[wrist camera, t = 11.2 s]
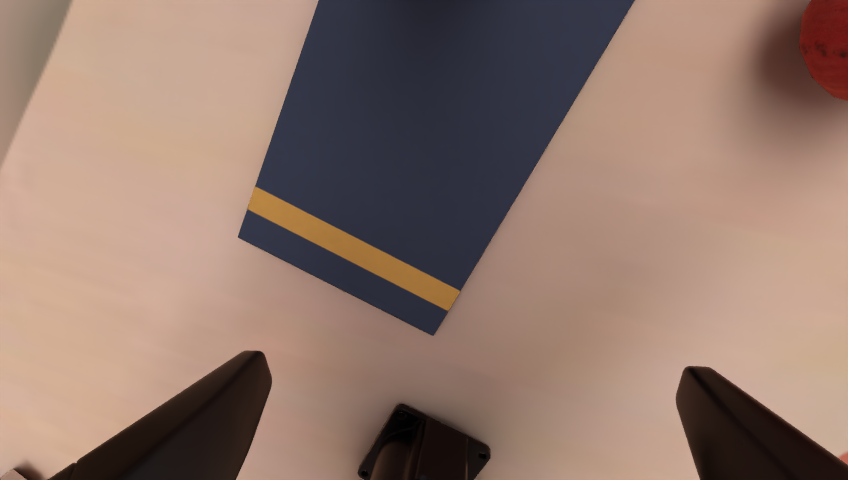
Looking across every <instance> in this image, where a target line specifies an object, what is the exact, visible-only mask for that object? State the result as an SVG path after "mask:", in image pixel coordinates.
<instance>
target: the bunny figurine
mask: <svg viewBox="0 0 848 480" xmlns="http://www.w3.org/2000/svg"><path fill="white" fill-rule="evenodd" d="M0 480H26V479H25V478H24V477H23V476H21V475H20V474H19V473H17V472H16V471H15V470H14V469H13V470H10V471H9V472H7V473H6V474H5V475H4V476H2V477H1V478H0Z"/></svg>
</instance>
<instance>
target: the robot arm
mask: <svg viewBox="0 0 848 480" xmlns="http://www.w3.org/2000/svg"><path fill="white" fill-rule="evenodd" d="M271 385H272V376H271V373H270V370H269V367H268V364H267V361H266V358H265V355H264V353H263V352H261V351H243V352H241V353H240V354H238V355H237V356H235V357H234V358H232V359H231V360H229V361H228V362H226V363H225V364H223V365H222V366H220V367H219V368H217V369H215V370H214V371H212V372H211V373H209V374H208V375H206V376H205V377H203V378H202V379H200V380H199V381H197V382H196V383H194V384H193V385H191V386H190V387H188V388H187V389H185V390H184V391H182V392H181V393H179V394H177V395H176V396H174V397H173V398H171V399H170V400H168V401H167V402H165V403H164V404H162V405H161V406H159V407H158V408H156V409H155V410H153V411H152V412H150V413H149V414H147V415H146V416H144V417H142V418H141V419H139V420H138V421H136V422H135V423H133V424H132V425H130V426H129V427H127V428H126V429H124V430H123V431H121V432H120V433H118V434H117V435H115V436H114V437H112V438H111V439H109V440H107V441H106V442H104V443H103V444H101V445H100V446H98V447H97V448H95V449H94V450H92V451H91V452H89V453H88V454H86V455H85V456H83V457H82V458H80V459H79V460H78V461H77V463H72V464H71V465H69V466H68V467H66V468H65V469H63V470H62V471H60V472H59V473H57V474H56V475H54V476H53V477H51V478H50V479H48V480H236V478H237V476H238V474H239V471H240V469H241V467H242V465H243V463H244V460H245V458H246V456H247V454H248V451H249V449H250V446H251V443H252V441H253V438H254V435H255V432H256V429H257V426H258V424H259V421H260V418H261V415H262V412H263V409H264V406H265V403H266V401H267V398H268V395H269V392H270V389H271ZM676 405H677V409H678V412H679V415H680V418H681V422H682V425H683V428H684V431H685V434H686V437H687V440H688V444H689V447H690V450H691V453H692V456H693V459H694V463H695V466H696V469H697V472H698V475H699V478H700V480H848V465H847V464H846V463H844V462H843V461H841V460H840V459H839V458H837V457H836V456H834V455H833V454H832V453H830V452H829V451H827V450H826V449H825V448H823V447H822V446H820V445H819V444H817V443H816V442H815V441H813V440H812V439H810V438H809V437H808V436H806V435H805V434H803V433H802V432H801V431H799V430H798V429H796V428H795V427H794V426H792V425H791V424H789V423H788V422H786V421H785V420H784V419H782V418H781V417H779V416H778V415H777V414H775V413H774V412H772V411H771V410H770V409H768V408H767V407H765V406H764V405H763V404H761V403H760V402H758V401H757V400H755V399H754V398H753V397H751V396H750V395H748V394H747V393H746V392H744V391H743V390H741V389H740V388H739V387H737V386H736V385H734V384H733V383H731V382H730V381H729V380H727V379H726V378H724V377H723V376H722V375H720V374H719V373H717V372H716V371H715V370H713V369H711V368H709V367H702V366H688V367H686V368H685V369H684V370H683V373H682V376H681V380H680V383H679V387H678V390H677V393H676ZM399 412H402V413H404V414H400V413H399ZM481 453H484V454H481ZM489 459H490V448H489V447H488V446H487V445H485V444H483V443H481V442H479V441H477V440H475V439H473V438H471V437H469V436H467V435H465V434H463V433H461V432H459V431H457V430H455V429H453V428H451V427H449V426H447V425H445V424H443V423H441V422H439V421H437V420H435V419H433V418H430V417H428V416H426V415H424V414H422V413H420V412H418V411H416V410H414V409H412V408H410V407H408V406H406V405H403V404H399V405H397V406H396V407H395V408H394V410H393V411H392V413H391V414H390V416H389V418H388V419H387V421H386V423H385V424H384V426H383V428H382V429H381V431H380V433H379V434H378V436H377V438H376V439H375V441H374V443H373V444H372V446H371V448H370V449H369V451H368V453H367V454H366V456H365V457H364V459H363V461H362V462H361V464H360V466H359V469H358V475H359V477H360V478H362V479H364V480H474V479H475V478H476V476H477V475H478V474H479V472H480V471H481V470H482V469H483V467H484V466H485V465H486V463H487V462H488V461H489Z"/></svg>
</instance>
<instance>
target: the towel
mask: <svg viewBox="0 0 848 480" xmlns="http://www.w3.org/2000/svg"><path fill="white" fill-rule="evenodd" d="M633 2H634V0H319V1H318V4H317V7H316V10H315V13H314V16H313V19H312V22H311V25H310V28H309V31H308V34H307V37H306V39H305V42H304V45H303V48H302V51H301V54H300V57H299V60H298V63H297V66H296V69H295V72H294V75H293V77H292V80H291V83H290V86H289V89H288V92H287V95H286V98H285V101H284V104H283V107H282V110H281V112H280V115H279V118H278V121H277V124H276V127H275V130H274V133H273V136H272V139H271V142H270V145H269V148H268V150H267V153H266V156H265V159H264V162H263V165H262V168H261V171H260V174H259V177H258V180H257V183H256V186H255V188H254V191H253V194H252V197H251V200H250V203H249V206H248V209H247V212H246V215H245V218H244V221H243V223H242V226H241V229H240V232H239V235H238V238H240V239H242V240H244V241H246V242H248V243H250V244H252V245H254V246H256V247H258V248H260V249H262V250H264V251H266V252H268V253H270V254H272V255H274V256H276V257H278V258H280V259H282V260H284V261H286V262H288V263H290V264H292V265H294V266H296V267H298V268H300V269H302V270H304V271H306V272H308V273H310V274H312V275H314V276H316V277H318V278H320V279H322V280H324V281H325V282H327V283H329V284H331V285H333V286H335V287H337V288H339V289H341V290H343V291H345V292H347V293H349V294H351V295H353V296H355V297H357V298H359V299H361V300H363V301H365V302H367V303H369V304H371V305H373V306H375V307H377V308H379V309H381V310H383V311H385V312H387V313H389V314H391V315H393V316H395V317H397V318H399V319H401V320H403V321H405V322H407V323H409V324H411V325H413V326H415V327H417V328H419V329H421V330H423V331H424V332H426V333H428V334H430V335H432V336H433V335H434V334H435V332H436V331H437V329H438V327H439V326H440V324H441V322H442V321H443V319H444V317H445V316H446V314H447V312H448V311H449V309H450V308H451V306H452V304H453V303H454V301H455V299H456V297H457V296H458V294H459V292H460V291H461V289H462V287H463V286H464V284H465V282H466V281H467V279H468V277H469V276H470V274H471V272H472V271H473V269H474V267H475V266H476V264H477V262H478V261H479V259H480V257H481V256H482V254H483V252H484V251H485V249H486V247H487V246H488V244H489V242H490V241H491V239H492V237H493V236H494V234H495V232H496V231H497V229H498V227H499V226H500V224H501V222H502V221H503V219H504V217H505V216H506V214H507V212H508V211H509V209H510V207H511V206H512V204H513V202H514V201H515V199H516V197H517V196H518V194H519V192H520V191H521V189H522V187H523V186H524V184H525V182H526V181H527V179H528V177H529V176H530V174H531V172H532V171H533V169H534V167H535V166H536V164H537V162H538V161H539V159H540V157H541V156H542V154H543V152H544V151H545V149H546V147H547V146H548V144H549V142H550V141H551V139H552V137H553V136H554V134H555V132H556V131H557V129H558V127H559V126H560V124H561V122H562V121H563V119H564V117H565V116H566V114H567V112H568V111H569V109H570V107H571V106H572V104H573V102H574V101H575V99H576V97H577V96H578V94H579V92H580V91H581V89H582V87H583V86H584V84H585V82H586V80H587V79H588V77H589V75H590V74H591V72H592V70H593V69H594V67H595V65H596V64H597V62H598V60H599V59H600V57H601V55H602V54H603V52H604V50H605V49H606V47H607V45H608V44H609V42H610V40H611V39H612V37H613V35H614V34H615V32H616V30H617V29H618V27H619V25H620V24H621V22H622V20H623V19H624V17H625V15H626V14H627V12H628V10H629V9H630V7H631V5H632V4H633Z"/></svg>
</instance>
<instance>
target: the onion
mask: <svg viewBox="0 0 848 480" xmlns="http://www.w3.org/2000/svg"><path fill="white" fill-rule="evenodd" d="M799 48H800V50H801V53H802V55H803V58H804V60H805V62H806V65H807V67H808V69H809V72H810V74H811V76H812V78H813V79H814V80H815V81H817V82H818V83H819V84H820V85H821V86H822V87H823V88H824V89H825V90H827V91H828V92H829V93H830V94H831V95H832V96H833V97H836V98H839V99H842V100H846V101H848V0H811V1H810V3H809V5H808V7H807V8H806V10H805V12H804V14H803V15H802V20H801V31H800V42H799Z"/></svg>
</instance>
